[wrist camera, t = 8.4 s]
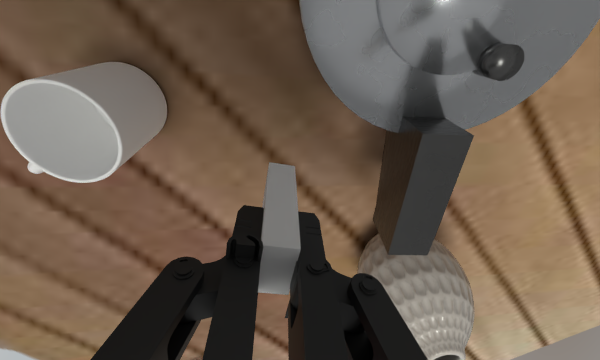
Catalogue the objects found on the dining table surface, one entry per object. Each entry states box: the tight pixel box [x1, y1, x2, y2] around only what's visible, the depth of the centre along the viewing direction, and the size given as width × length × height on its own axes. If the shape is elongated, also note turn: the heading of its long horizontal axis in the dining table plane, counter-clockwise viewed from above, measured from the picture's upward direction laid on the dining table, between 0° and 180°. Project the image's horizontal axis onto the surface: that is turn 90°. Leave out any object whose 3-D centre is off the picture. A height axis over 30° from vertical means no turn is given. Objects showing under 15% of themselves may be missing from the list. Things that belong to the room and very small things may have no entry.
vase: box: [357, 233, 474, 360], centre depth 34 cm, size 13×13×17 cm
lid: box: [299, 0, 600, 255], centre depth 16 cm, size 31×19×5 cm, turn 177°
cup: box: [1, 62, 167, 183], centre depth 26 cm, size 8×12×10 cm
